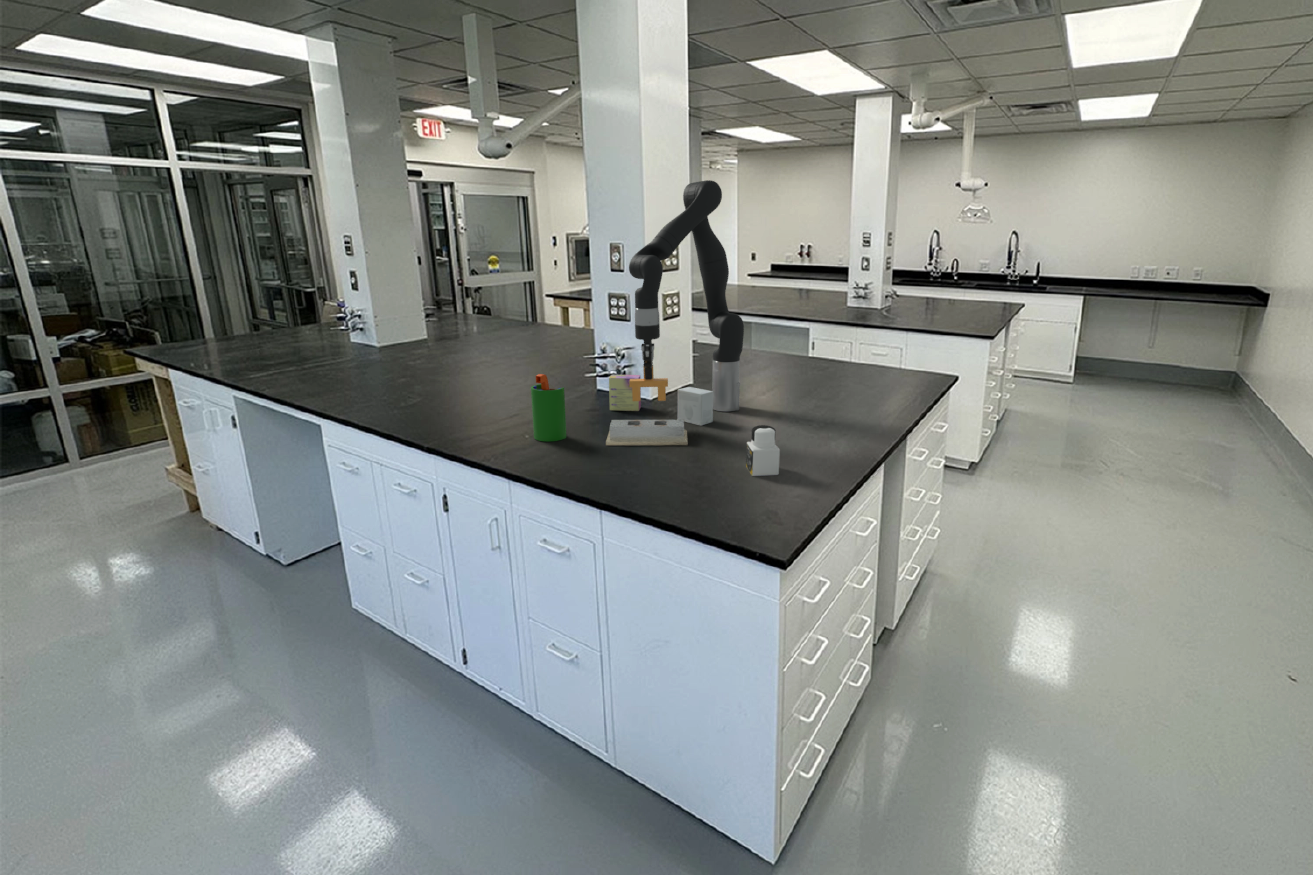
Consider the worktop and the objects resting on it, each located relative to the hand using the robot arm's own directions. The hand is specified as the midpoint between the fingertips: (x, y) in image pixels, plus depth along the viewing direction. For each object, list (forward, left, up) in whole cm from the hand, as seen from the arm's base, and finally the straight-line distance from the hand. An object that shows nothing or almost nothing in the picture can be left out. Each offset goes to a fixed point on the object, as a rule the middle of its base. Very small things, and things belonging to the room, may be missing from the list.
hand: (648, 377), depth 204 cm
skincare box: (-15, -6, -16) cm, 23 cm away
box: (+9, -21, -16) cm, 28 cm away
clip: (0, 0, -7) cm, 7 cm away
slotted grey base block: (0, +13, -16) cm, 21 cm away
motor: (+30, +11, -16) cm, 36 cm away
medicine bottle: (-31, +40, -16) cm, 53 cm away
